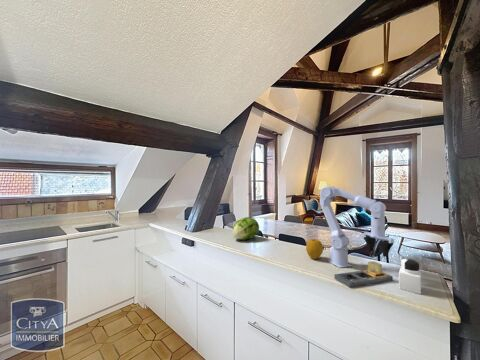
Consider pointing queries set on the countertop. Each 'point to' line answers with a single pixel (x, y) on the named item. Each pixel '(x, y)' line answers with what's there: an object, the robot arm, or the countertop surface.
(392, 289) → the countertop surface
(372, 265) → the tan rectangular block
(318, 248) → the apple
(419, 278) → the medicine bottle
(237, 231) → the lettuce
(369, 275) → the grey rectangular frame
